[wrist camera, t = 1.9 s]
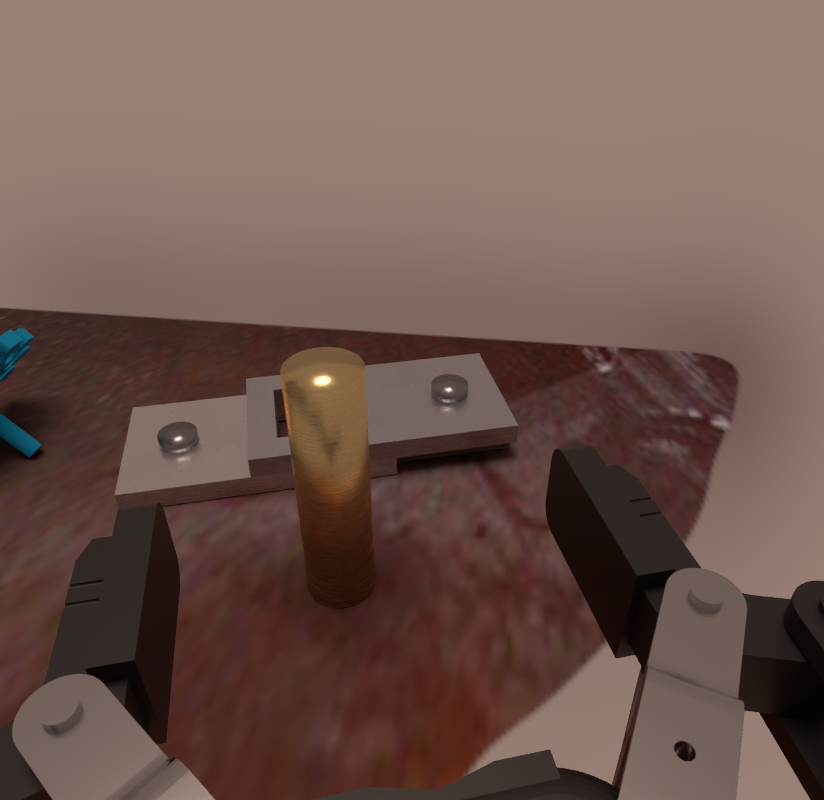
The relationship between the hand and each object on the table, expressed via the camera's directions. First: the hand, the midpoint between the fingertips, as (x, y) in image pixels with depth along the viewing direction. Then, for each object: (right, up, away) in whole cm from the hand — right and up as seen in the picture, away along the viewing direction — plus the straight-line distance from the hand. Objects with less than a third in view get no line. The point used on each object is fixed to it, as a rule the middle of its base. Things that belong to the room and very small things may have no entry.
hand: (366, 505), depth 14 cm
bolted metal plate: (-5, 0, +28) cm, 28 cm away
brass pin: (-2, -6, +19) cm, 20 cm away
